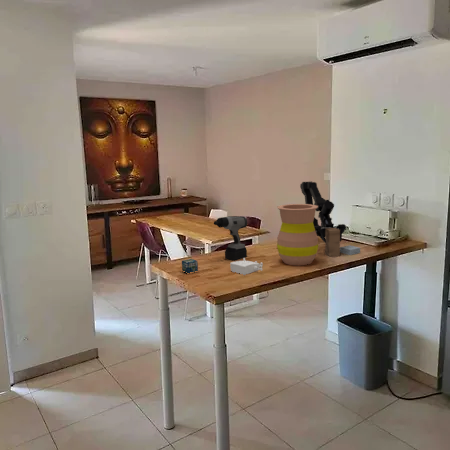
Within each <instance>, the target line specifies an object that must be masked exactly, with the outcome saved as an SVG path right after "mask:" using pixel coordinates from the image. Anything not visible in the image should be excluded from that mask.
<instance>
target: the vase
mask: <svg viewBox="0 0 450 450" xmlns="http://www.w3.org/2000/svg"><path fill="white" fill-rule="evenodd" d="M317 207H318V206H316V205H314V204H313V205H310V204H305V203H291V204H290V203H289V204H281V205H280V204H279V205H278V206H277V210H279V215H280V221H281V225H280V228H279V230H278V231H279V232H278V234H277V241H276V247H277V251H278V252H277V253H278V256H279V257H280V259H281V260H282V262H283V264H286V265H290V266H306V265H307V264H308V265H310V264H312V263H313V261H314V260H315V258H316V257H317V253H318V249H319V236H317V234H316V231H315V228H314V224H313V220H314V217H315V216H316V208H317Z"/></svg>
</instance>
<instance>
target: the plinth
mask: <svg viewBox="0 0 450 450" xmlns="http://www.w3.org/2000/svg"><path fill="white" fill-rule="evenodd" d="M340 253H342V254H345V255H347V256H352V255H357V254H360V253H361V247H358V246H354V245H350V244H349V245H345V246H340Z"/></svg>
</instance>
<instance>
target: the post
mask: <svg viewBox="0 0 450 450" xmlns="http://www.w3.org/2000/svg"><path fill="white" fill-rule="evenodd" d="M325 239H326V243H325V244H324V245H325V246H324V247H325V248H324V249H325V250H324V251H325V252H324V253H325V255H326V256H327V257H329V258H333V257H340V256H341V254H340V247H341V245H340V244H341V242H340V230H339V229H337V228H328V229H326V231H325Z"/></svg>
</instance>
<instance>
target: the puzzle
mask: <svg viewBox="0 0 450 450" xmlns="http://www.w3.org/2000/svg"><path fill="white" fill-rule="evenodd" d="M198 265H199V264H198V260H195V259H194V258H188V259H184V260H181V271H182V270H183V271H185V272H187V273H190V272H195V271H198V272H199V269H198V268H199V267H198Z"/></svg>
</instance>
